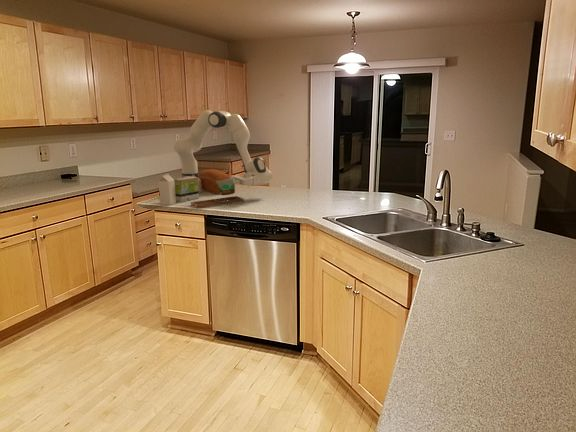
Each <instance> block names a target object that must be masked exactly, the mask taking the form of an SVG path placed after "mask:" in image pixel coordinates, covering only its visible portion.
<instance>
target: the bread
mask: <svg viewBox="0 0 576 432" xmlns="http://www.w3.org/2000/svg"><path fill="white" fill-rule="evenodd" d="M198 173H199V179H200V180H201V185H202V189H204V191H203V192H209V193H211V194H212V193H213V194H216V195H221V194H220V191H219V187H218V184H217V183H216V181H217V180H224V179H230V177H231V176H229V175H228V174H227V173H225V172H223V171H221V170H220V169H219V170H217V169H212V168H210V169H205V170H202V171H200V172H198Z"/></svg>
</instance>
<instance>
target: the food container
mask: <svg viewBox="0 0 576 432" xmlns="http://www.w3.org/2000/svg"><path fill="white" fill-rule="evenodd" d="M232 180H235V178H231V179H224V180H217V181H216V183H217V184H218V187H219V191H220V194H219V195H221V196H228V195H233V194H235V193H236V190H235V189H236V188H235V185H236V184H235V183H232Z"/></svg>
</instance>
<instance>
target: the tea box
mask: <svg viewBox="0 0 576 432" xmlns="http://www.w3.org/2000/svg"><path fill="white" fill-rule="evenodd" d="M172 178H173V177H172ZM173 179H174V182H175V195H176V202H179V203H180V202H181V203H183V202H188V201H192V200H194V201H195V200H198V199H200V193H199V183H198V177H192V176H187V177H181V176H180V177H174V178H173Z"/></svg>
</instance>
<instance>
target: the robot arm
mask: <svg viewBox="0 0 576 432" xmlns="http://www.w3.org/2000/svg"><path fill="white" fill-rule="evenodd" d="M212 127H213V128H215V129H220V128H221V129H223V128H228V129H229V131H230V133H231V135H232V136H233V140H234V142H235V145H236V148H237V149H236V150H237V152H238V154H239V157H240V159H241V161H242V165H243V170H244V174H243V175H242V174H234V175H233V174H232V175H230V176H229V177H230V179H231V178H235V180H232V183H234V184H239V185H242V186H247V187H250V186H251V187H255V186H257V185H266V184H268V183H270V182H271V181H272V179H273V172H271V170H269V168H268V167H267V165H266V161H265V160H264V158H262V157H260V156H255V157H254V158H253V159H251V156H250V153H249V151H248V144H249V141H250V138H251V133H250V130H249V128H248V126H247V125H246V123H245V121H244V119H243V118H242V116H241V115H240V114H238V113H232V112H231V111H228V110H218V111H212V110H210V109H205V110H204V111H202V112H201V114H199V115H198V117H197V118H196V119H195V121H194V123H193V124H192V125H191V127H190V133H189V135H188V136H186V137H183V138H179V139H177V140H175V141H174V143H173V149H174V151H175V152H176V154H177V155H178V157H179V160H180V164H181V176H180V177H187V176H192V177H198V183H199V194H200V193H202V192H205V191H204V189H202V185H201V180H200V179H199V173H200V172H199V169H198V168H199V167H198V160H197V159H196V158H195V156H194V153H197V152H199V151H200V150H201V149H202V147H203V141H204V139H205V137H206V136H207V134H208V133H209V132H210V130H211V129H212Z"/></svg>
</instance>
